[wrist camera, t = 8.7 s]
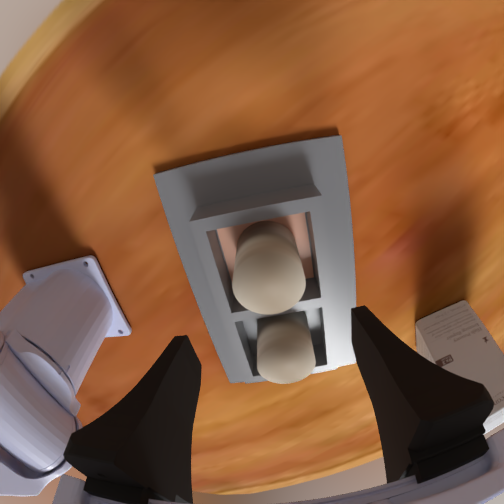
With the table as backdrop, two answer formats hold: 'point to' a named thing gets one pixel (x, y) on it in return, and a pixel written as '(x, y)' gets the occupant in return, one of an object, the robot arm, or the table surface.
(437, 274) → the table surface
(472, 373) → the skincare box
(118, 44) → the table surface
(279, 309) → the cream cylinder
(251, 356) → the gray compartment tray
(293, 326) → the beige round piece
